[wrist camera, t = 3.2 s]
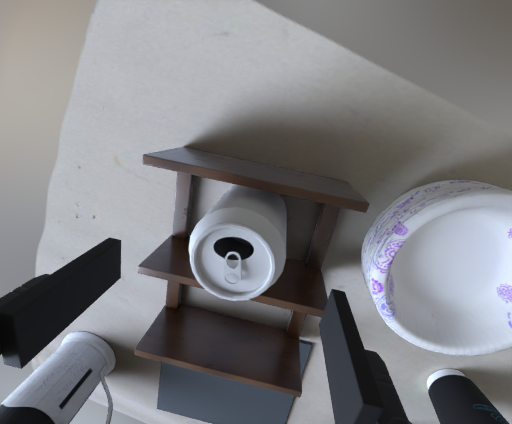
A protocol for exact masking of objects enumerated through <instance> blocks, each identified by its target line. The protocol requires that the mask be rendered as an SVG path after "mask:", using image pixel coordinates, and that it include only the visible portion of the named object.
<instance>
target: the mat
mask: <svg viewBox="0 0 512 424" xmlns="http://www.w3.org/2000/svg"><path fill="white" fill-rule="evenodd" d="M299 343H300V363H301V376H302V373H303V370H304V368H305V365H306V362H307V359H308V356H309V353H310V350H311V347H312V343H309V342H305V341H301V340H299ZM293 399H294V396H293V395H289V394H285V393H281V392H277V391H273V390H269V389H265V388H262V387H258V386H254V385H250V384H246V383H242V382H238V381H234V380H231V379H227V378H223V377H219V376H215V375H211V374H207V373H204V372H200V371H196V370H192V369H188V368H184V367H180V366H176V365H173V364H169V363H165V362H161V371H160V382H159V393H158V404H157V409H160V410H163V411H167V412H171V413H175V414H178V415H182V416H186V417H189V418H193V419H197V420H201V421H204V422H208V423H212V424H285V422H286V420H287V417H288V414H289V411H290V408H291V405H292V402H293Z"/></svg>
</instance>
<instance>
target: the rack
mask: <svg viewBox="0 0 512 424" xmlns="http://www.w3.org/2000/svg"><path fill="white" fill-rule="evenodd" d="M143 164H145V165H149V166H154V167H158V168H163V169H168V170H172V171H177V172H178V173H177V184H176V195H175V207H174V218H173V229H172V235H171V236H170V237H169V238H168V239H167V240H166V241H165V242H163V243H162V244H161V245H160V246H159V247H158V248H157V249H156V250H155V251H154V252H153V253H152V254H151V255H149V256H148V257H147V258H146V259H145V260H144V261H143V262H142V263H141V264H140V265H139V266H138V273H140V274H144V275H148V276H153V277H157V278H161V279H165V280H168V285H167V296H166V305H165V306H164V308H163V309H162V311H161V312H160V313H159V315H158V316H157V318H156V319H155V321H154V322H153V324H152V325H151V326H150V328H149V329H148V331H147V332H146V334H145V335H144V337H143V338H142V339H141V341H140V342H139V344H138V345H137V347H136V348H135V353H134V354H135V355H138V356H142V357H145V358H149V359H153V360H157V361H161V362H165V363H169V364H173V365H176V366H180V367H184V368H188V369H192V370H196V371H200V372H204V373H207V374H211V375H215V376H219V377H223V378H227V379H231V380H234V381H238V382H242V383H246V384H250V385H254V386H258V387H262V388H265V389H269V390H273V391H277V392H281V393H285V394H289V395H293V396H296V397H300V396H301V394H302V383H301V363H300V343H299V335H300V332H301V329H302V325H303V322H304V319H305V316H306V314H310V315H314V316H319V317H322V316H323V313H324V310H325V307H326V304H327V301H328V298H327V293H326V289H325V285H324V280H323V276H322V271H321V266H322V263H323V260H324V256H325V253H326V250H327V247H328V244H329V241H330V238H331V235H332V231H333V228H334V225H335V222H336V219H337V216H338V213H339V209H340V207H342V208H347V209H351V210H356V211H360V212H367V209H368V206H369V203H368V202H367V201H366V200H365V199H364V198H363V197H362V196H361V195H360V194H359V193H358V192H357V191H356V190H355V189H354V188H353V187H352V186H350V185H349V184H348V183H347V182H345V181H340V180H336V179H331V178H326V177H321V176H317V175H312V174H307V173H302V172H298V171H293V170H288V169H284V168H279V167H274V166H270V165H265V164H260V163H255V162H251V161H246V160H241V159H237V158H232V157H227V156H223V155H218V154H213V153H208V152H204V151H199V150H194V149H190V148H185V147H180V148H175V149H170V150H165V151H159V152H154V153H149V154H144V155H143ZM195 176H200V177H204V178H209V179H213V180H218V181H223V182H227V183H232V184H236V185H241V186H246V187H250V188H255V189H259V190H264V191H269V192H273V193H278V194H282V195H287V196H291V197H296V198H301V199H305V200H310V201H314V202H319V203H323V205H322V208H321V212H320V215H319V218H318V222H317V225H316V229H315V232H314V235H313V239H312V242H311V246H310V249H309V252H308V256H307V259H306V263H304V262H300V261H296V260H291V259H287V258H286V260H285V264H284V268H283V272H282V273H281V275H280V276H279V278H278V279H277V281H276V282H275V283H274V284H273V285H271V286H270V287H269V288H268V289H267V290H266V291H264V292H263V293H262V294H260V295H259V296H257V297H255V298H251V299H248V300H252V301H256V302H260V303H265V304H269V305H273V306H277V307H281V308H285V309H290V310H291V314H290V317H289V321H288V324H287V327H286V330H283V329H279V328H275V327H271V326H267V325H263V324H259V323H255V322H251V321H247V320H243V319H238V318H234V317H230V316H226V315H222V314H218V313H214V312H210V311H206V310H202V309H198V308H194V307H190V306H185V305H181V295H182V286H183V284H186V285H190V286H194V287H198V288H202V289H205V288H204V287H203V286H202V285H201V284H199V282H198V281H197V279H196V277H195V276H194V274H193V272H192V268H191V264H190V254H189V242H190V236H188V233H189V224H190V216H191V207H192V198H193V189H194V180H195Z"/></svg>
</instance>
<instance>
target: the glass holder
mask: <svg viewBox="0 0 512 424" xmlns="http://www.w3.org/2000/svg"><path fill="white" fill-rule="evenodd" d="M115 363H116V359H115V355H114V352H113V350H112V349H111V347H110V346H109V345H108V344H107V343H106V342H105V341H104V340H103V339H101V338H100V337H98V336H96V335H94V334H91V333H88V332H81V331H78V332H73V333H70V334H68V335H67V336H66V337H65V338H64V340H63V342H62V344H61V346H60V347H59V348H58V349H57V350H56V351H55V352H54V353H53V354H52V355H51V356H50V357H49V358H48V359H47V360H46V361H45V362H44V363H42V364H41V365H40V366H39V367H38V368H37V369H36V370H35V371H34V372H33V373H32V374H31V375H30V376H29V377H28V378H27V379H26V380H25V381H24V382H23V383H22V384H21V385H20V386H19V387H18V388H17V389H16V390H15V391H13V392H12V394H10V395H9V396H8V397H7V398H6V399H5V400H4V401H3V402H2V403H1V404H0V424H69V423H70V422H71V421H72V419H73V418H74V416H75V415H76V414H77V412H78V411H79V410H80V408H81V407H82V406H83V404H84V403H85V401H86V400H87V399H88V397H89V396H90V395H91V393H92V392H93V391H94V389H95V388H96V387H97V385H98V384H99V383H100V381H101V382H102V385H103V387H104V390H105V392H106V394H107V398H108V403H109V407H108V415H107V420H106V424H110V421H111V416H112V410H113V403H112V398H111V395H110V392H109V389H108V387H107V384H106V382H105V379H104V376H105V375H107V374H109V373H110V372H111V371H112V370H113V369H114V367H115Z"/></svg>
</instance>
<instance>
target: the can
mask: <svg viewBox="0 0 512 424" xmlns="http://www.w3.org/2000/svg"><path fill="white" fill-rule="evenodd" d="M286 232H287V213H286V206H285V203H284V201H283V199H282V197H281V196H280V195H279V194H278V193H273V192H269V191H264V190H259V189H255V188H250V187H246V186H241V185H235V186H233V187H232V188H231V189H230V190H229V191H228V192H226V193H225V194H224V196H223V197H222V198H221V199H220V200H219V201H218V202H217V203H216V204H215V205H214V206H213V207H212V208H211V209H210V210H209V212H208V213H207V214H206V215H205V216H204V217H203V218H202V219H201V220H200V221H199V222H198V223H197V224H196V226H195V228H194V230H193V232H192V234H191V236H190V242H189V254H190V264H191V268H192V272H193V274H194V276H195V277H196V279H197V281H198V282H199V284H201V285H202V286H203V287H204V288H205V289H206V290H207V291H208V292H210V293H212V294H213V295H215V296H217V297H219V298H222V299H226V300H231V301H245V300H248V299H251V298H255V297H257V296H259V295H260V294H262V293H263V292H264V291H266V290H267V289H268V288H269V287H270V286H271V285H273V284H274V283H275V282H276V281H277V279H278V278H279V276H280V275H281V273H282V272H283V268H284V264H285V260H286Z"/></svg>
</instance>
